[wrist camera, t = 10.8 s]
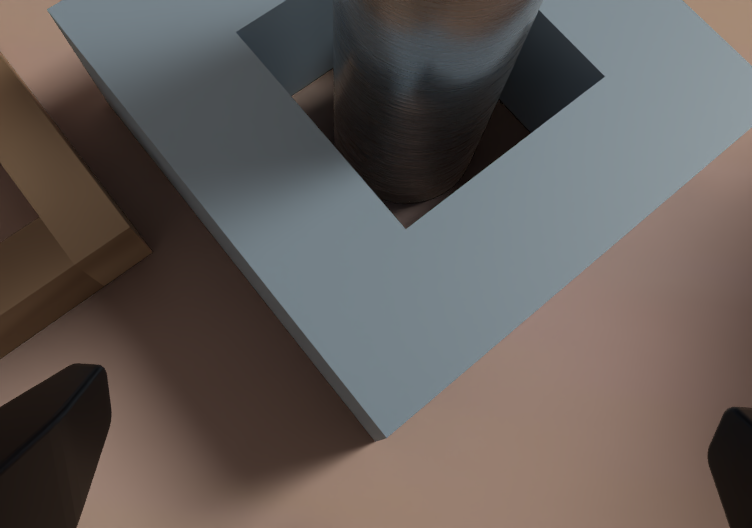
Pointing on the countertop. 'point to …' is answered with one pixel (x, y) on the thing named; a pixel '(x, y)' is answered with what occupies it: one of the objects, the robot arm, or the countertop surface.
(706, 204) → the countertop surface
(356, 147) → the cylinder
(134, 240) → the square wooden frame
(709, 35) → the slate-blue hub block
